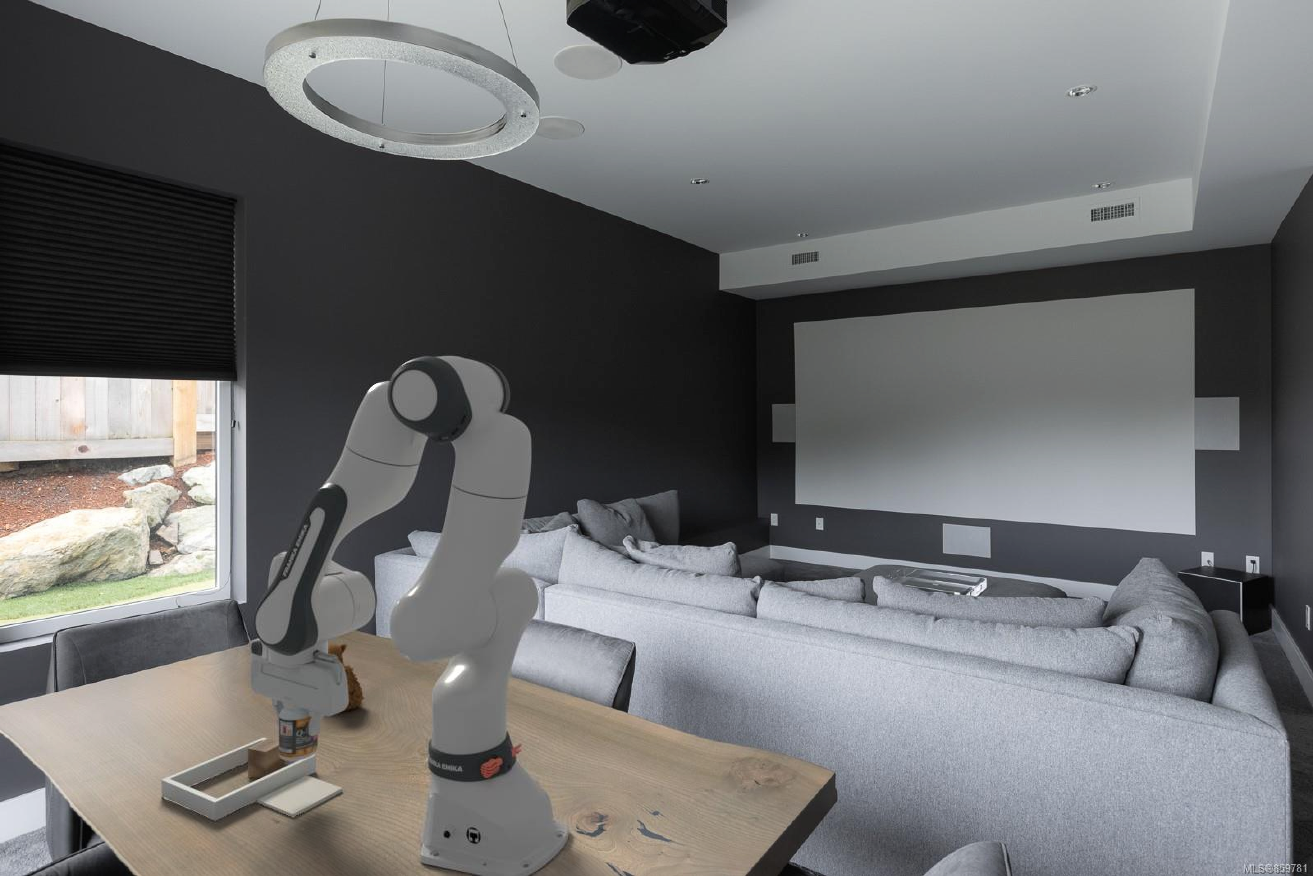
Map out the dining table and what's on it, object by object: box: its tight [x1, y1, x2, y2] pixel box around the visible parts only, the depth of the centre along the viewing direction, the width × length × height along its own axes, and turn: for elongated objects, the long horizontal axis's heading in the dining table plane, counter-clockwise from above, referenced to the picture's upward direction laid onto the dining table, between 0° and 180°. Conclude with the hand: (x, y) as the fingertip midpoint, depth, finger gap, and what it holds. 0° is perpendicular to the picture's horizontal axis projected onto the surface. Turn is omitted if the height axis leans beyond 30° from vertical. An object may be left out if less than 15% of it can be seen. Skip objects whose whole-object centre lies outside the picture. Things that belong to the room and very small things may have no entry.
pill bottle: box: [278, 697, 319, 761], centre depth 118 cm, size 6×6×10 cm
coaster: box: [256, 775, 343, 818], centre depth 118 cm, size 9×9×1 cm
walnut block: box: [247, 738, 286, 779], centre depth 126 cm, size 4×4×5 cm
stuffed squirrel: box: [328, 643, 365, 712], centre depth 155 cm, size 10×14×13 cm
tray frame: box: [161, 737, 317, 821], centre depth 122 cm, size 15×18×3 cm
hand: (298, 729), depth 118 cm, fingers closed on pill bottle, 6 cm apart
